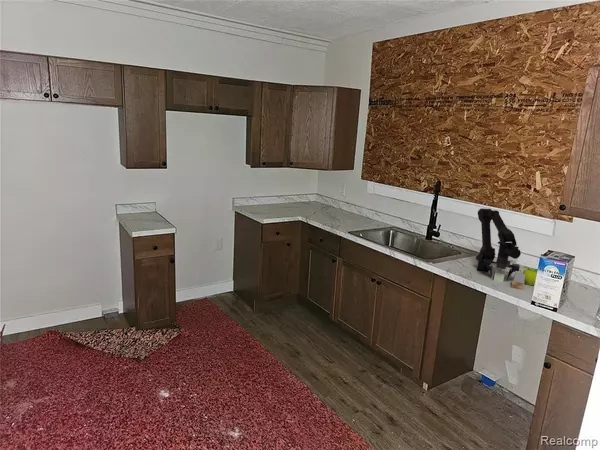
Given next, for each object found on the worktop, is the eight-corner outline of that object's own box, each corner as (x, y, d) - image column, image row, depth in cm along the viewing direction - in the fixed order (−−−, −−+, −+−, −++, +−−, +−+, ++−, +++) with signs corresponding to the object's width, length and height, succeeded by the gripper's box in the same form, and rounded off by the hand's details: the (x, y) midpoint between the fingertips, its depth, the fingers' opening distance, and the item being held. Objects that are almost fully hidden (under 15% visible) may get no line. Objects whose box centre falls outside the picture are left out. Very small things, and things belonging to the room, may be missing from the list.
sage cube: (493, 280, 239) (495, 272, 238) (494, 278, 244) (495, 270, 242) (503, 282, 237) (504, 274, 236) (503, 279, 241) (504, 271, 240)
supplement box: (502, 271, 256) (505, 252, 253) (500, 268, 263) (504, 249, 260) (515, 273, 254) (518, 254, 251) (513, 270, 260) (517, 251, 257)
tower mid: (513, 281, 228) (515, 274, 228) (513, 278, 233) (515, 272, 232) (523, 283, 226) (525, 276, 225) (523, 280, 231) (525, 274, 230)
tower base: (511, 288, 229) (512, 281, 228) (511, 284, 234) (512, 278, 234) (523, 290, 227) (524, 283, 226) (523, 287, 232) (524, 280, 231)
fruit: (519, 280, 242) (523, 264, 240) (537, 283, 239) (541, 267, 236) (520, 285, 234) (523, 268, 232) (539, 288, 230) (542, 271, 228)
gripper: (484, 253, 234) (480, 278, 237) (521, 259, 225) (516, 286, 229) (486, 248, 243) (482, 273, 247) (521, 255, 235) (516, 280, 238)
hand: (498, 278), depth 240 cm, fingers open, 8 cm apart
